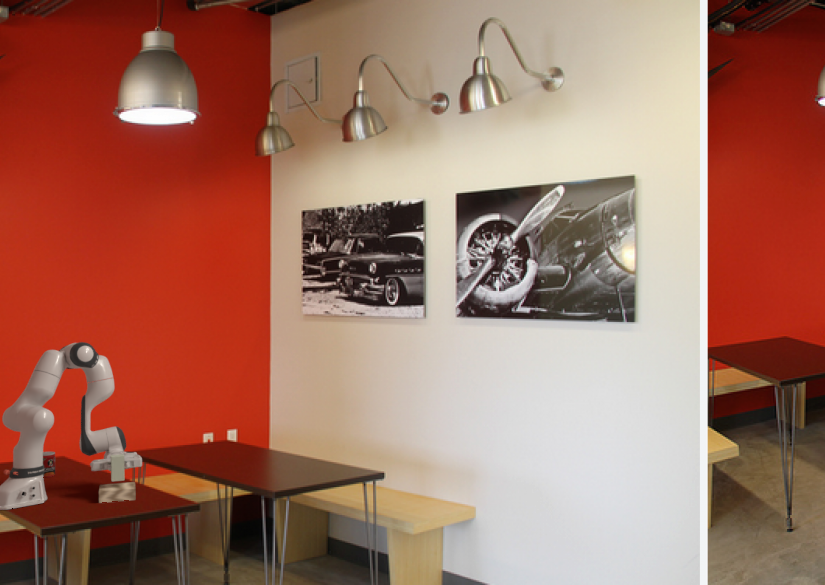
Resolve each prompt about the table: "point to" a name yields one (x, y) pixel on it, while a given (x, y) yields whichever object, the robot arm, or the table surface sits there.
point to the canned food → (49, 464)
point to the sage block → (117, 468)
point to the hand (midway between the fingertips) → (117, 466)
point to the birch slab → (117, 492)
